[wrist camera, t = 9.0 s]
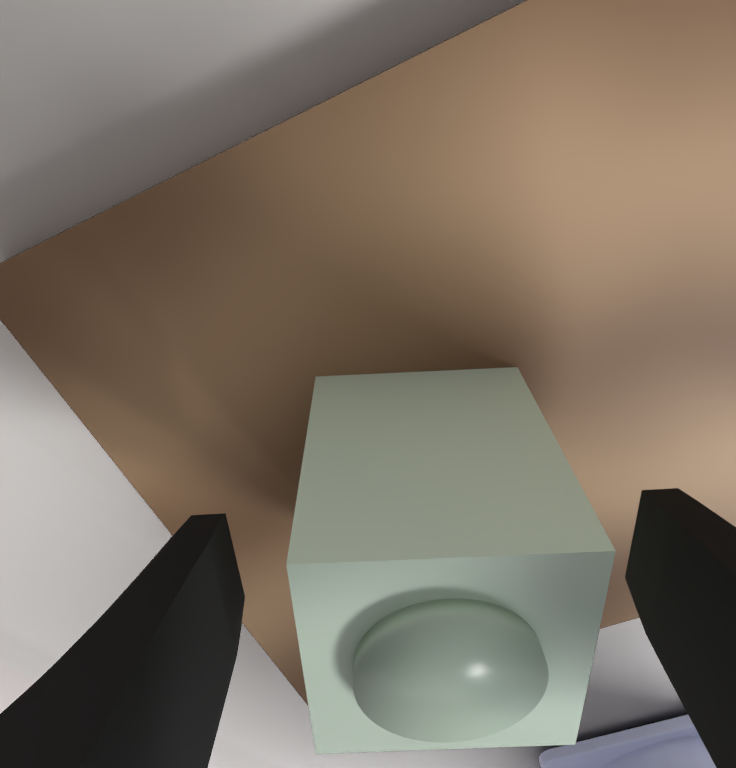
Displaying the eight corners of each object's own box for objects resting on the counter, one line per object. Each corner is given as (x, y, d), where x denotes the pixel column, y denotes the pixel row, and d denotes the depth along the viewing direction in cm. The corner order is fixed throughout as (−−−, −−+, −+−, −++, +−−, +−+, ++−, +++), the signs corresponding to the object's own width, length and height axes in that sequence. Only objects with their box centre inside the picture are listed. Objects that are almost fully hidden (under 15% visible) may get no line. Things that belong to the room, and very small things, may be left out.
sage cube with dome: (517, 366, 11) (625, 569, 7) (504, 522, 13) (581, 764, 9) (315, 376, 11) (282, 583, 7) (331, 529, 13) (314, 774, 9)
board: (1057, 450, 14) (1114, 481, 13) (315, 672, 18) (312, 710, 16) (1178, -325, 8) (1305, -388, 7) (4, 260, 11) (-32, 279, 10)
